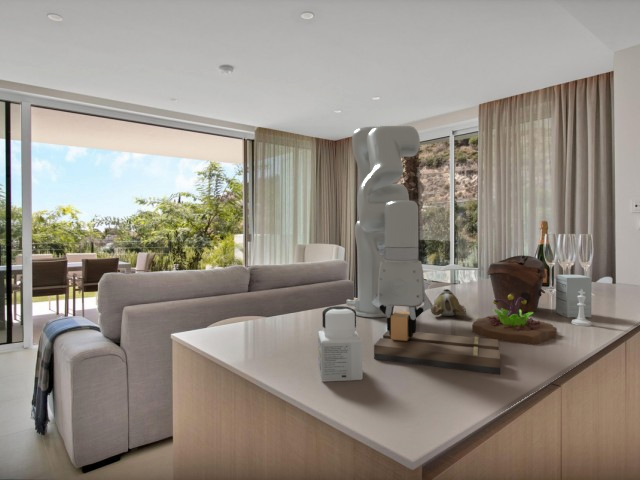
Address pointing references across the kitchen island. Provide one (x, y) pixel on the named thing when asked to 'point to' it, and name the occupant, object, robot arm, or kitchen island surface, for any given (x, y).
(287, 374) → the kitchen island surface
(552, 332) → the plant
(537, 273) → the brown flower pot
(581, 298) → the chess piece
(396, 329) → the fader tab
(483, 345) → the slider console
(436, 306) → the ceramic sculpture
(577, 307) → the supplement box
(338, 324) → the container
